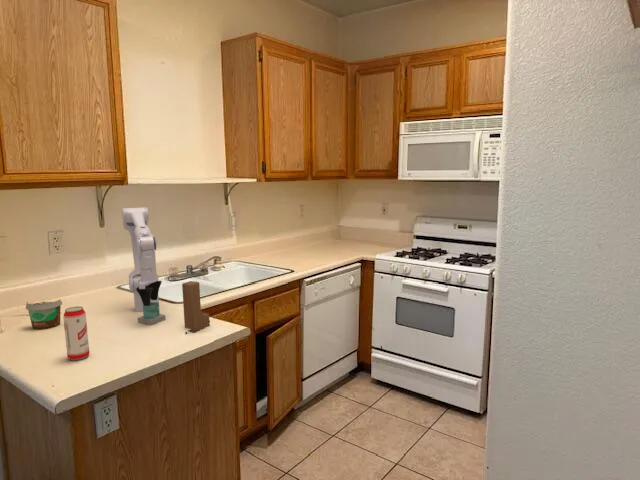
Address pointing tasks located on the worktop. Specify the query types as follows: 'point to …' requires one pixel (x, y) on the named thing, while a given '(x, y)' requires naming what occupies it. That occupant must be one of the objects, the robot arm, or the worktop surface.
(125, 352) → the worktop surface
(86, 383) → the worktop surface
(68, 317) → the beer can
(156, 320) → the top slab
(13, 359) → the worktop surface
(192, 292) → the wooden block
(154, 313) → the block
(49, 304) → the food container
